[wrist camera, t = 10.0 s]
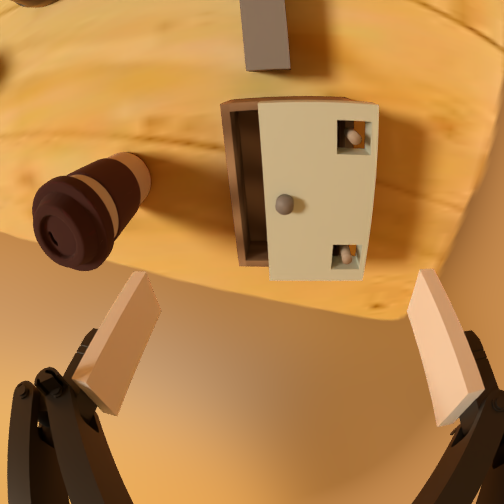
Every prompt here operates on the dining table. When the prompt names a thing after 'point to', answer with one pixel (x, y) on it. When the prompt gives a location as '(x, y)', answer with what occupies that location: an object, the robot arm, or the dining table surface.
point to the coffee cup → (89, 209)
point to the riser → (265, 35)
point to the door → (316, 187)
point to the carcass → (260, 175)
